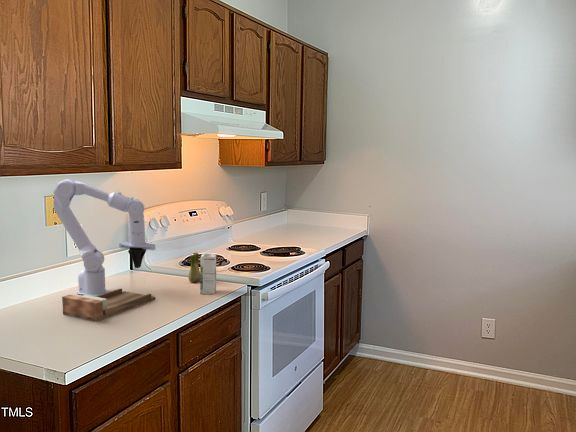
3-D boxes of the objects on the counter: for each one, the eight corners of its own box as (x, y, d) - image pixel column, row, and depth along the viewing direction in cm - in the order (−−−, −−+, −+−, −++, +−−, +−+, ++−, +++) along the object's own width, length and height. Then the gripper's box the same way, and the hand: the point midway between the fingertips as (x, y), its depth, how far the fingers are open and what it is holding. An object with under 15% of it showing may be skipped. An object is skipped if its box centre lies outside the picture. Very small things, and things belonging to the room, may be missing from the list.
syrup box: (201, 290, 208) (200, 253, 206) (216, 290, 209) (216, 253, 207) (200, 294, 202) (199, 256, 200) (215, 294, 203) (215, 256, 201)
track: (63, 314, 178) (62, 296, 177) (124, 293, 202) (123, 278, 202) (96, 321, 171) (95, 303, 170) (155, 299, 196) (154, 283, 195)
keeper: (76, 309, 179) (75, 297, 179) (85, 306, 183) (85, 294, 182) (98, 313, 175) (97, 301, 174) (107, 310, 178) (106, 298, 178)
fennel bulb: (192, 284, 217) (192, 255, 215) (185, 282, 220) (184, 253, 219) (203, 281, 221) (203, 253, 219) (196, 279, 224) (196, 251, 223)
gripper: (113, 232, 201) (115, 268, 203) (148, 234, 197) (148, 271, 198) (124, 229, 208) (125, 264, 209) (158, 232, 203) (158, 267, 205)
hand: (137, 267), depth 204 cm, fingers closed
